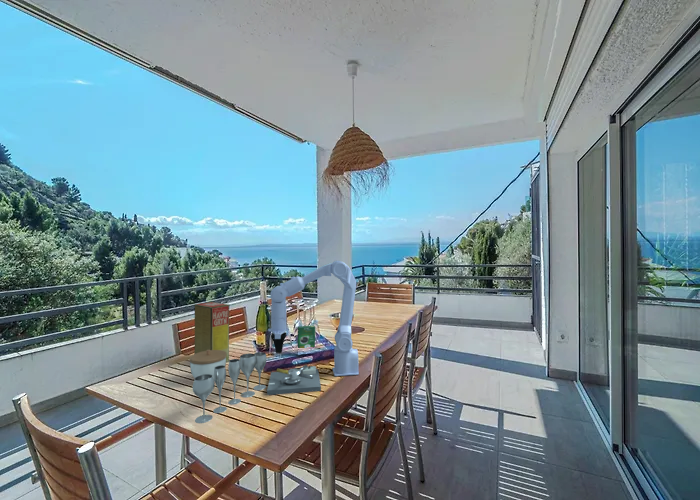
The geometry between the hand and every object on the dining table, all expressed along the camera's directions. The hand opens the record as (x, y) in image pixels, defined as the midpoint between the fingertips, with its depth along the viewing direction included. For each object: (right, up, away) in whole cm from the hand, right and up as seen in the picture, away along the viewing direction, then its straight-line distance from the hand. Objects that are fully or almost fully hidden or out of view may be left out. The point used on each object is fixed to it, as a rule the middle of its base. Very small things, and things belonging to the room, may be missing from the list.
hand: (278, 352), depth 121 cm
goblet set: (-10, -9, -21) cm, 25 cm away
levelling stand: (+7, -9, -7) cm, 13 cm away
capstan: (+8, -7, -10) cm, 14 cm away
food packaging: (-33, -9, +16) cm, 38 cm away
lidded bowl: (-26, -9, -3) cm, 28 cm away
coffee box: (+7, -9, +24) cm, 27 cm away
